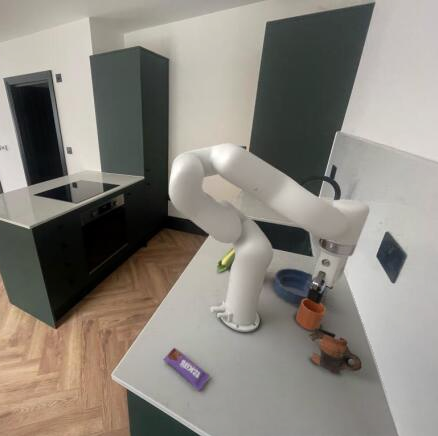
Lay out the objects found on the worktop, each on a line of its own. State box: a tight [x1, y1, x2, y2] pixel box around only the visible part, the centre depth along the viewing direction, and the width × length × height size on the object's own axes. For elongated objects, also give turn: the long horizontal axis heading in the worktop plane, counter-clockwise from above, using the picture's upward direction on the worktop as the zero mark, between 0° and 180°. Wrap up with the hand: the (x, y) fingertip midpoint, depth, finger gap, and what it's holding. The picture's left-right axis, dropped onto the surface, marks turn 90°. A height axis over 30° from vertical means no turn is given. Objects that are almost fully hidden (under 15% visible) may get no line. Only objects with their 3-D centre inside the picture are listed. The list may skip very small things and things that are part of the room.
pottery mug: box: [308, 328, 363, 373], centre depth 62 cm, size 12×10×8 cm
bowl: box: [272, 268, 328, 307], centre depth 86 cm, size 16×16×5 cm
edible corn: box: [216, 247, 235, 273], centre depth 104 cm, size 5×20×5 cm, turn 139°
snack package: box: [163, 347, 211, 392], centre depth 61 cm, size 12×2×5 cm
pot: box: [295, 298, 327, 331], centre depth 73 cm, size 6×6×7 cm
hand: (319, 293), depth 70 cm, fingers open, 9 cm apart
